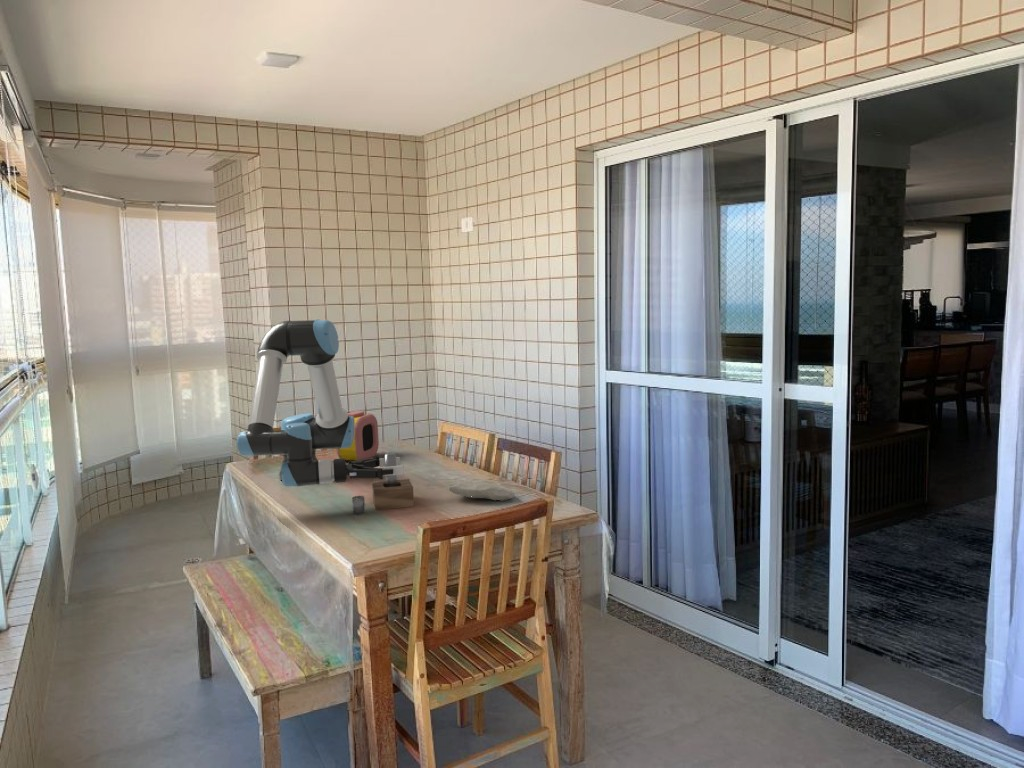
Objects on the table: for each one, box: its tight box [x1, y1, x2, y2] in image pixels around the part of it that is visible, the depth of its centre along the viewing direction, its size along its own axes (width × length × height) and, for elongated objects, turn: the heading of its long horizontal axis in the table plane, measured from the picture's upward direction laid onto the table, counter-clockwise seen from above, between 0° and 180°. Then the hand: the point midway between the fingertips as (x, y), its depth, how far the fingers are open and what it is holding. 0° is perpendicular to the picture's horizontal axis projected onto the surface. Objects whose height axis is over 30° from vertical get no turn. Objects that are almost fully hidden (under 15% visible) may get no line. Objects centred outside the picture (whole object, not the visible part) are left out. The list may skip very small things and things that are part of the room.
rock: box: [449, 479, 516, 501], centre depth 250 cm, size 24×6×20 cm
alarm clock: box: [335, 410, 380, 461], centre depth 314 cm, size 18×11×19 cm, turn 164°
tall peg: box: [383, 452, 398, 487], centre depth 245 cm, size 4×4×16 cm
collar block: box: [371, 478, 415, 511], centre depth 246 cm, size 12×12×6 cm
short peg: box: [351, 495, 366, 516], centre depth 236 cm, size 4×4×5 cm
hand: (401, 465), depth 246 cm, fingers open, 13 cm apart
